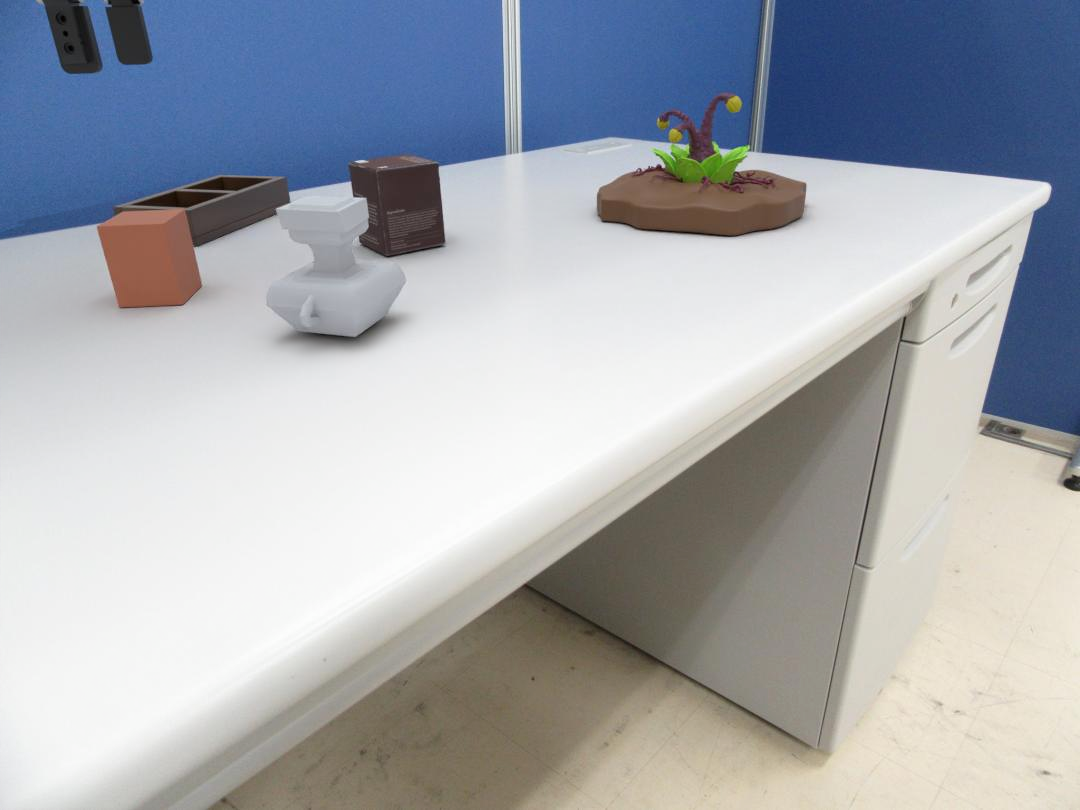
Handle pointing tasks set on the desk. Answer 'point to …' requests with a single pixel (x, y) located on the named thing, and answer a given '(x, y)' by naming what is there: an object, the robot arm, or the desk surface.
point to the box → (400, 202)
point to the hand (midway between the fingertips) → (112, 68)
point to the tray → (218, 203)
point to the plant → (701, 187)
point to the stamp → (333, 270)
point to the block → (150, 257)
